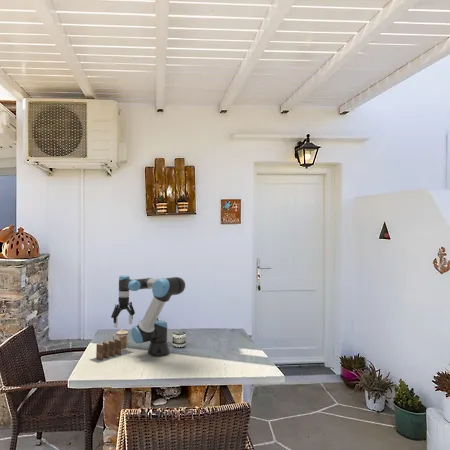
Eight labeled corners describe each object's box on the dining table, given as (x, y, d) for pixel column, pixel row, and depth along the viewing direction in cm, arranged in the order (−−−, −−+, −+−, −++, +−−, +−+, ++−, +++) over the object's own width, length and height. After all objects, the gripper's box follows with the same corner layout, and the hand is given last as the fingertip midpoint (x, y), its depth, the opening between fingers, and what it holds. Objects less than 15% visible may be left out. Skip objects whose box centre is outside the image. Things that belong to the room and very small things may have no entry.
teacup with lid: (129, 343, 325) (129, 327, 325) (125, 346, 316) (126, 330, 316) (114, 342, 326) (114, 327, 326) (110, 345, 317) (110, 330, 317)
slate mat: (133, 353, 300) (133, 352, 300) (98, 363, 276) (98, 362, 276) (124, 350, 306) (124, 349, 306) (88, 360, 282) (88, 359, 282)
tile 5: (98, 358, 285) (98, 343, 285) (103, 359, 282) (103, 344, 282) (96, 359, 284) (96, 344, 284) (100, 360, 281) (101, 345, 281)
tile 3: (110, 354, 293) (110, 340, 293) (115, 356, 290) (115, 341, 290) (108, 355, 292) (108, 341, 292) (113, 356, 289) (113, 342, 289)
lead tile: (126, 348, 310) (126, 335, 310) (120, 350, 306) (121, 336, 306) (124, 348, 311) (124, 334, 311) (119, 349, 307) (119, 336, 307)
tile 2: (116, 353, 297) (116, 338, 297) (120, 354, 294) (121, 340, 294) (114, 353, 296) (114, 339, 296) (118, 355, 293) (119, 340, 293)
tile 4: (104, 356, 289) (104, 342, 289) (109, 358, 286) (109, 343, 286) (102, 357, 288) (102, 342, 288) (107, 358, 285) (107, 343, 285)
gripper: (133, 293, 321) (132, 321, 321) (106, 298, 301) (105, 327, 301) (140, 295, 316) (139, 323, 316) (113, 299, 296) (112, 329, 296)
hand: (123, 325), depth 309 cm, fingers open, 13 cm apart
